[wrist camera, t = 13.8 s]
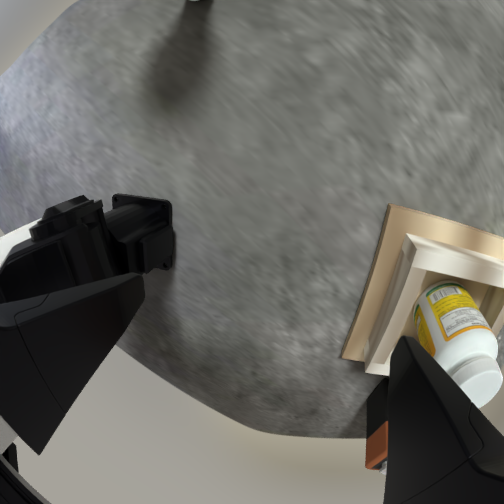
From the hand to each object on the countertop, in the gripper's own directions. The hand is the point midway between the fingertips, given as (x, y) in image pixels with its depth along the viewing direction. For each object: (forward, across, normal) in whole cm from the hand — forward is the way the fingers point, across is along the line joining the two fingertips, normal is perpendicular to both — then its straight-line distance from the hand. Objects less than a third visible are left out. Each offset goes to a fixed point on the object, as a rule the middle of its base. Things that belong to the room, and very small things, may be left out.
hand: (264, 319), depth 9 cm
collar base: (+13, -13, +5) cm, 19 cm away
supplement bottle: (+12, -13, +5) cm, 18 cm away
